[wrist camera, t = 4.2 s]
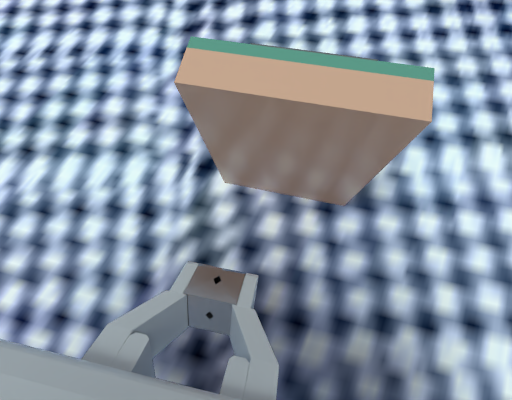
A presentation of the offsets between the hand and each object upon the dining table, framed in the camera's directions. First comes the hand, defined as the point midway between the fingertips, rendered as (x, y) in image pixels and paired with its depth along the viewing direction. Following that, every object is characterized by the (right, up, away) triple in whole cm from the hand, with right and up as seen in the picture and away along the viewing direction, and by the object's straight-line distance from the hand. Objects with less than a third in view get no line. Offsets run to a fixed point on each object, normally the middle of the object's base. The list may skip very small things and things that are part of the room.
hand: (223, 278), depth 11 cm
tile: (+4, +5, +11) cm, 13 cm away
